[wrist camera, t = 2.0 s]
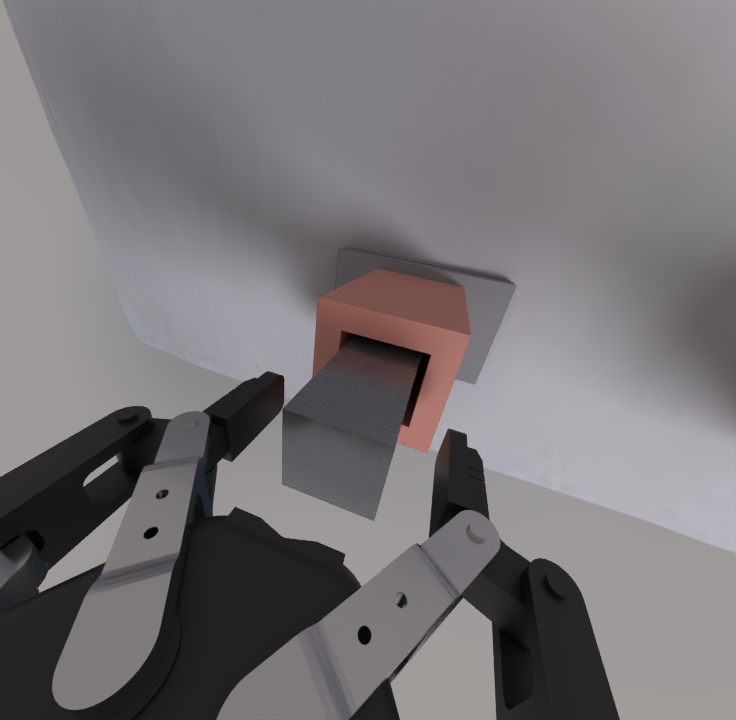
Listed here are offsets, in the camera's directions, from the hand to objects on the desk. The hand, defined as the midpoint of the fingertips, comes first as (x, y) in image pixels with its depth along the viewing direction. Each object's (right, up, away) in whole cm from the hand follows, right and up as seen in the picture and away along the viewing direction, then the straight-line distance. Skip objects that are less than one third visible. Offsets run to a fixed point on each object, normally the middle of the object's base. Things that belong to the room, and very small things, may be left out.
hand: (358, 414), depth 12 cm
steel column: (+4, +6, +13) cm, 15 cm away
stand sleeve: (+5, +7, +15) cm, 17 cm away
